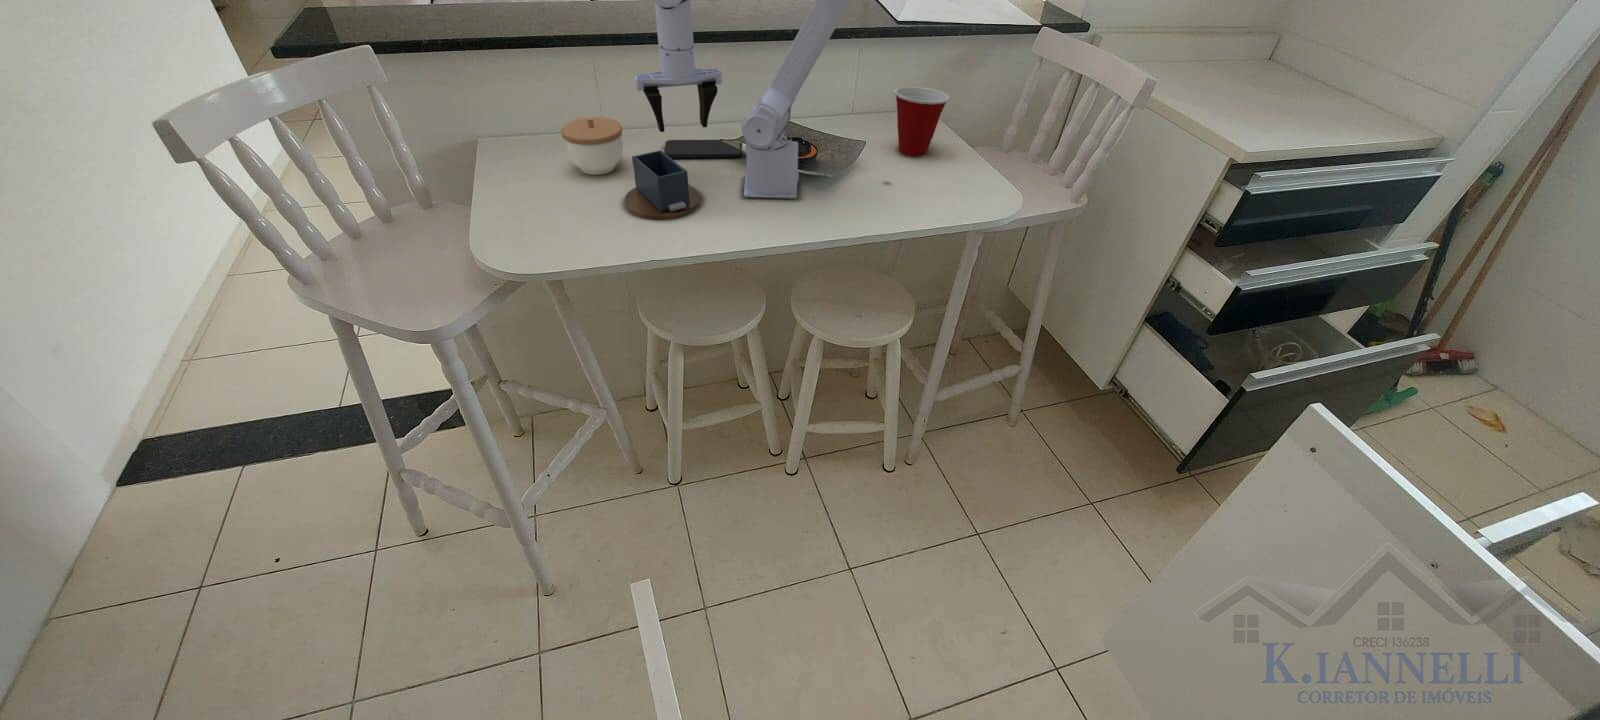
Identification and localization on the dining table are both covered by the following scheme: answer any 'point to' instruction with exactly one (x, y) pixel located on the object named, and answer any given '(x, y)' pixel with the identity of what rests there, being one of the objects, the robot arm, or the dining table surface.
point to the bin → (661, 180)
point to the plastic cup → (917, 118)
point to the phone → (700, 149)
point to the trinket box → (594, 144)
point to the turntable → (647, 210)
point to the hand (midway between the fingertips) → (682, 127)
